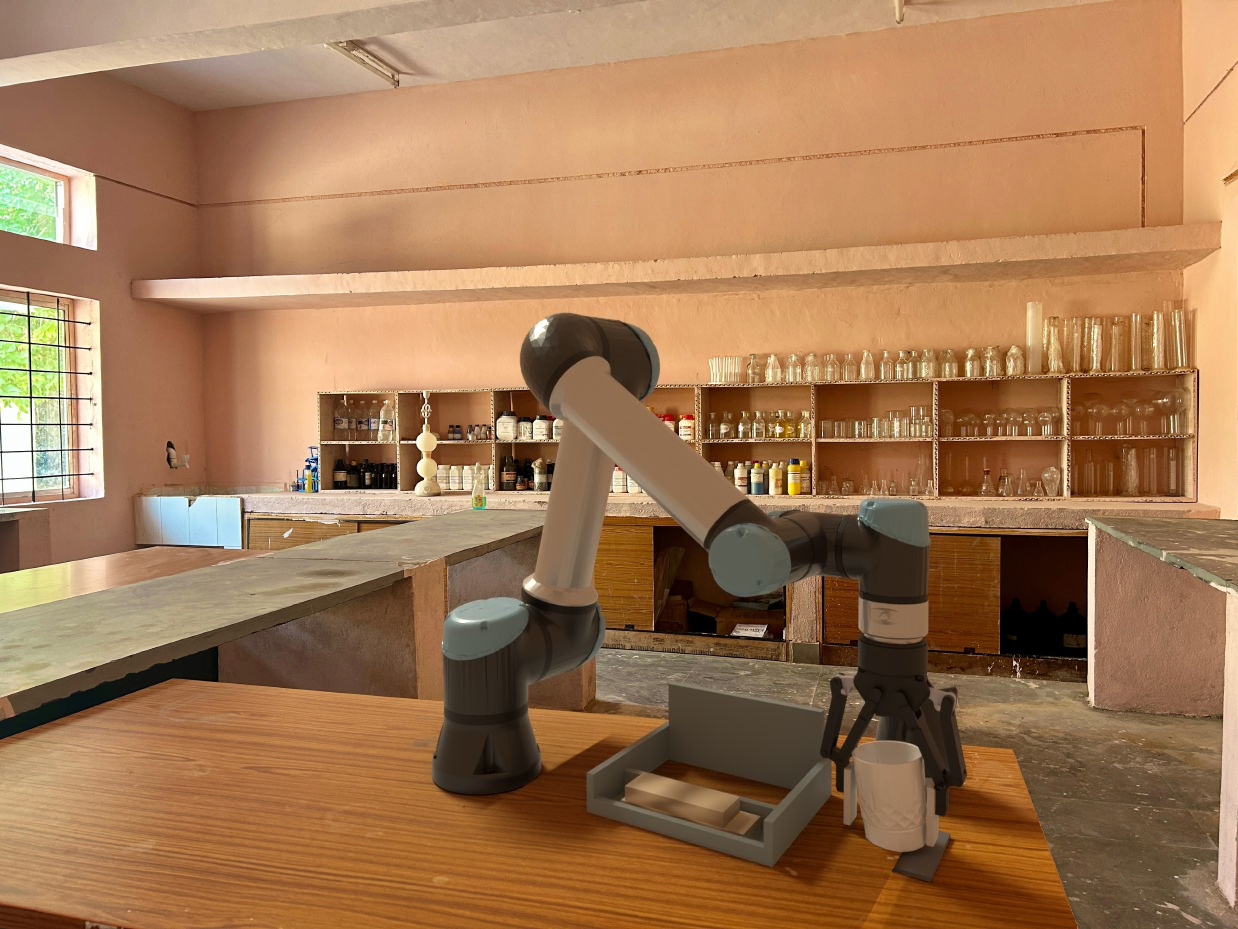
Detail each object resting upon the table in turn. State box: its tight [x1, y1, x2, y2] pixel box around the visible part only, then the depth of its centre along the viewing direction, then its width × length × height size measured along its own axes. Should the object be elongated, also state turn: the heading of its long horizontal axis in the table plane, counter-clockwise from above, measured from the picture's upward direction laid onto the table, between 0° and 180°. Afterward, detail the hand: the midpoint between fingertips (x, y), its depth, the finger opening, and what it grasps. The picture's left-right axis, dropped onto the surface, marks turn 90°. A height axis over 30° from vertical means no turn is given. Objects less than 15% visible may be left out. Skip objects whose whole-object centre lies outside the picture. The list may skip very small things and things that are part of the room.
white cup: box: [851, 740, 927, 853], centre depth 93 cm, size 8×8×10 cm
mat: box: [891, 829, 951, 883], centre depth 94 cm, size 11×11×1 cm
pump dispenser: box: [874, 679, 959, 797], centre depth 108 cm, size 10×10×15 cm
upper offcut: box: [625, 772, 740, 828], centre depth 97 cm, size 13×5×2 cm, turn 58°
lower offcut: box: [621, 797, 761, 840], centre depth 97 cm, size 16×5×2 cm, turn 58°
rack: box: [585, 680, 833, 868], centre depth 102 cm, size 24×20×12 cm
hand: (890, 829), depth 94 cm, fingers open, 8 cm apart
